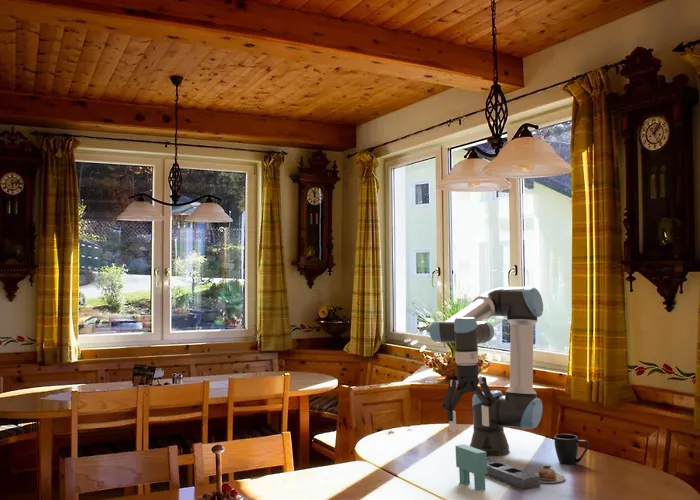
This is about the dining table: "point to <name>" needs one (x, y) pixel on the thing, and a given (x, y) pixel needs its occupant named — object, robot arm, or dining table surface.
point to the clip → (471, 465)
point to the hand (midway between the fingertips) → (469, 428)
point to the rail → (512, 475)
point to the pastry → (549, 475)
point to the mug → (568, 448)
